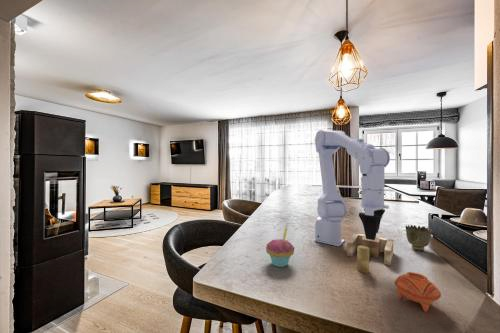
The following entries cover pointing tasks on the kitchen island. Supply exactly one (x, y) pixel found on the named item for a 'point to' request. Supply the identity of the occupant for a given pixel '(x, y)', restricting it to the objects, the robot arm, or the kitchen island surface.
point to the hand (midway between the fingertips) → (372, 235)
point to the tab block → (367, 253)
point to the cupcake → (280, 251)
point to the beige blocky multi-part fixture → (385, 247)
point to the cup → (418, 237)
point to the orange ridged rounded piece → (417, 289)
